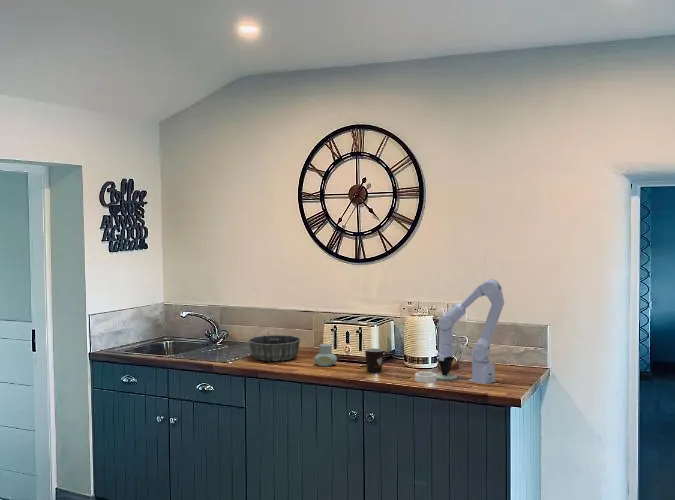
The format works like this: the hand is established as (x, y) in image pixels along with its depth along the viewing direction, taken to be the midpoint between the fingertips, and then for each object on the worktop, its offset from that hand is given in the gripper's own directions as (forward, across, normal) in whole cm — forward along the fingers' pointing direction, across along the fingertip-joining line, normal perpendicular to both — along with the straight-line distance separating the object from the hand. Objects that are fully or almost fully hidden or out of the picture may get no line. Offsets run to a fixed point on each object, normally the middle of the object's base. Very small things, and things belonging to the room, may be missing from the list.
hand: (445, 374), depth 314 cm
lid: (+1, 0, 0) cm, 1 cm away
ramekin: (+2, +9, -6) cm, 11 cm away
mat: (+2, 0, 0) cm, 2 cm away
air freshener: (+2, -5, -61) cm, 61 cm away
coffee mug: (+2, -2, -33) cm, 33 cm away
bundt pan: (+2, -10, -91) cm, 92 cm away
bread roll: (+2, -20, -4) cm, 21 cm away
